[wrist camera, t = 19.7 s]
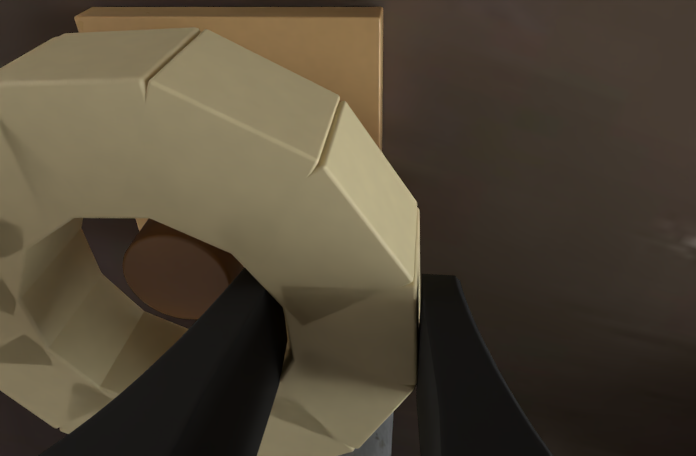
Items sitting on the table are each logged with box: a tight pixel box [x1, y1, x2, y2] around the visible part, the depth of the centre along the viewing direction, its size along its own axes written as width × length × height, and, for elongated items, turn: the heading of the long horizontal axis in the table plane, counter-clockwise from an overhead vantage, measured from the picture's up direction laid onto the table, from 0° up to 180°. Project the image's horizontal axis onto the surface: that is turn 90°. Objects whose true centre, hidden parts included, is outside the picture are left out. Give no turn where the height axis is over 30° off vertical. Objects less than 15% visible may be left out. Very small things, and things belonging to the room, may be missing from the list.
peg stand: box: [74, 7, 383, 319], centre depth 15 cm, size 8×8×6 cm
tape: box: [0, 27, 420, 456], centre depth 12 cm, size 10×10×2 cm
